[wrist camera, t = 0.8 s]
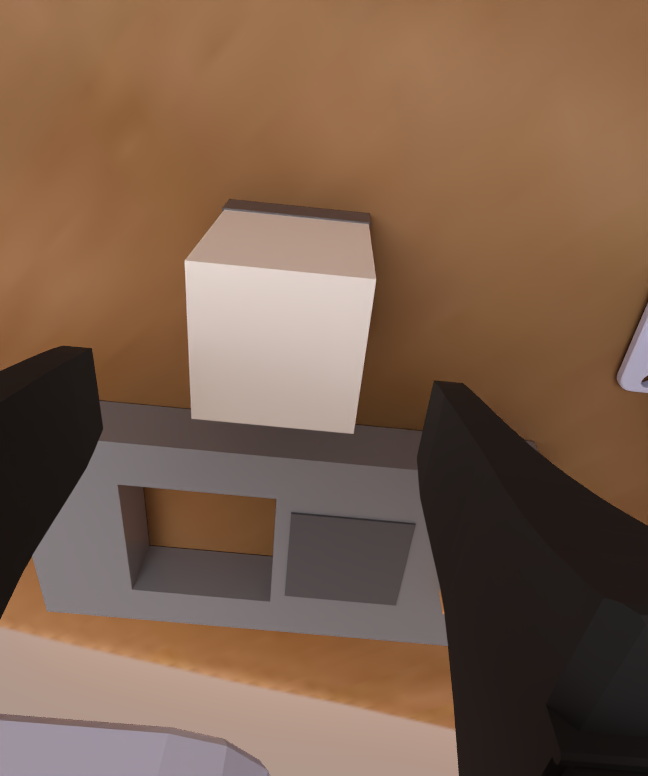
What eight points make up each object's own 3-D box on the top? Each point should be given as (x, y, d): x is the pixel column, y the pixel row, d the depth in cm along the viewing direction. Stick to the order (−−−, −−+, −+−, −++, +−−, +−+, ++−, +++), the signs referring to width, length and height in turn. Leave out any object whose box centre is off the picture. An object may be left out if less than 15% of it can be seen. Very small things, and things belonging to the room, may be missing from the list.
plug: (369, 213, 18) (378, 277, 13) (352, 338, 20) (355, 435, 15) (229, 198, 18) (182, 257, 13) (229, 326, 20) (189, 420, 15)
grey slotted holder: (533, 441, 22) (563, 502, 19) (475, 602, 27) (491, 670, 24) (32, 394, 22) (-17, 448, 19) (70, 566, 27) (36, 631, 24)
